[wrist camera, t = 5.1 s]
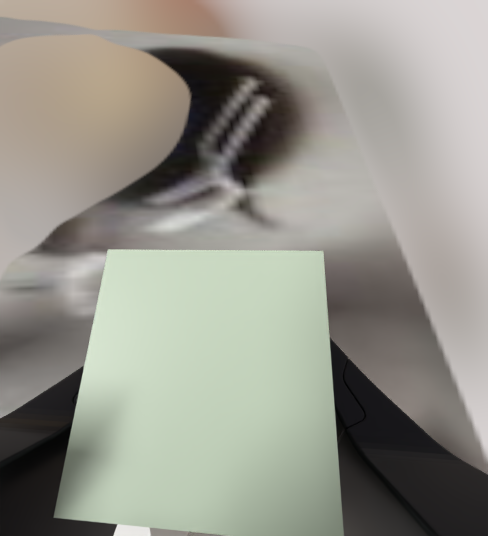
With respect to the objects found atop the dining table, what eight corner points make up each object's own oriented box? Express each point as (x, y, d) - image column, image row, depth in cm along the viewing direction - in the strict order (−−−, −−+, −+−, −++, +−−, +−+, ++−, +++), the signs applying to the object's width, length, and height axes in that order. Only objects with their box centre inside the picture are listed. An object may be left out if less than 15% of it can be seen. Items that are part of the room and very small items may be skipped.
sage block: (273, 360, 14) (344, 548, 3) (213, 357, 15) (53, 517, 3) (272, 299, 15) (322, 250, 4) (217, 298, 16) (107, 249, 4)
